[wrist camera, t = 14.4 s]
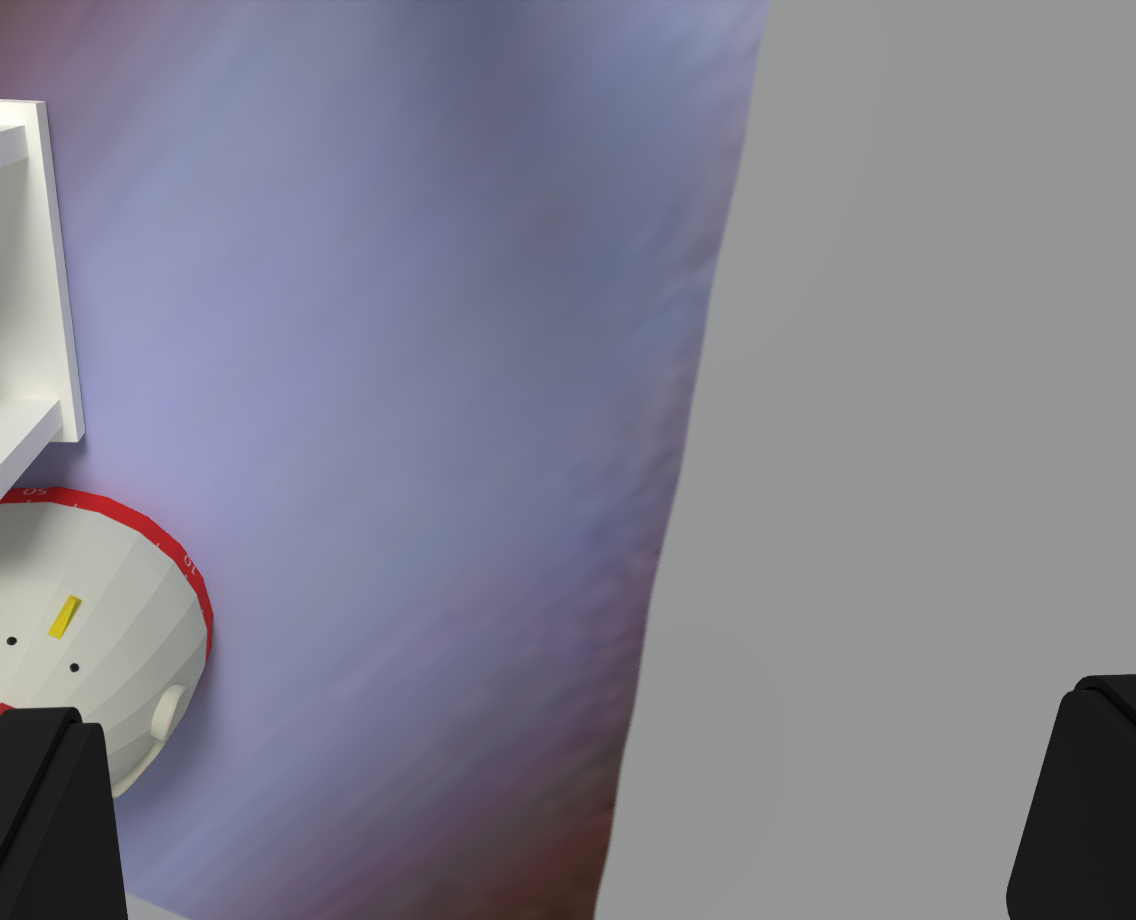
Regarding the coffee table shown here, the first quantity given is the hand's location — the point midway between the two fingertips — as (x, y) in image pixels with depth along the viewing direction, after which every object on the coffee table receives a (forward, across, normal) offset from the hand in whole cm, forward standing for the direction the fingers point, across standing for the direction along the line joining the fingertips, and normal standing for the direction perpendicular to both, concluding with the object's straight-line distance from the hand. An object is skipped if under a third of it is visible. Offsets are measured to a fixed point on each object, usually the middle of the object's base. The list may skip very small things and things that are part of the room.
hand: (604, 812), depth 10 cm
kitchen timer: (+39, +18, +21) cm, 47 cm away
